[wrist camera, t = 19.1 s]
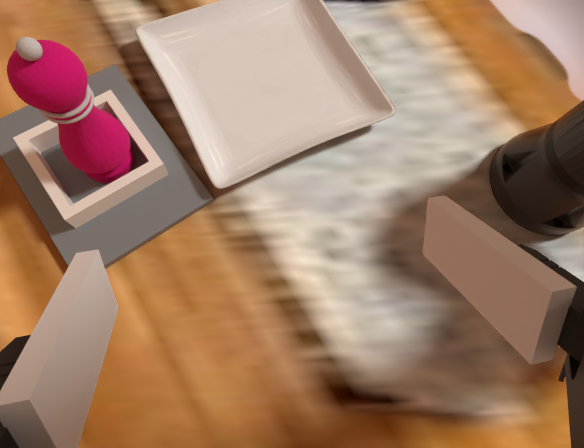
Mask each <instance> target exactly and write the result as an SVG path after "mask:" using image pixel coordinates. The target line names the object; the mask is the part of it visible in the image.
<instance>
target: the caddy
mask: <svg viewBox="0 0 584 448" xmlns="http://www.w3.org/2000/svg"><path fill="white" fill-rule="evenodd" d="M87 78H88V85H89V87H90V89H91V90H92V92H93V94H94V105H95V107H96V108H98V109H100V110H103V111H105V112H107V113H109V114H111V115H112V116H113V117H115V118H116V119H118V120H119V121H120V122H121V124H122V125H123V126H124V127H125V129H126V130H127V132H128V134H129V137H130V146H131V148H132V150H133V152H134V155H135V162H134V166H133V168H132V170H131V171H130V172H129V173H128V174H126V175H124V176H122V177H120V178H119V179H117V180H115V181H113V182H112V183H100V182H97V181H94V180H92V179H91V178H90V177H88V176H87V174H86V173H85V172H83V171H81V170H79V169H77V168H76V167H74V166H73V165H72V164H71V163H70V162H69V161H68V160H67V158H66V157H65V155H64V153H63V151H62V149H61V146H60V142H59V128H58V124H57V123H54V122H52V121H50V120H48V119H46V118H45V117H44V116H43V115H42V114H41V112H40V111H39V110H38V109H37V108H34V107H32V106H31V105H28V106H26V107H24V108H22V109H20V110H18V111H15V112H13V113H11V114H9V115H7V116H5V117H3V118H1V119H0V155H1V157H2V159H3V160H4V162H5V164H6V165H7V167H8V169H9V170H10V172H11V173H12V175H13V177H14V178H15V180H16V182H17V183H18V185H19V186H20V188H21V190H22V191H23V193H24V195H25V196H26V198H27V200H28V201H29V203H30V204H31V206H32V208H33V209H34V211H35V213H36V214H37V216H38V218H39V219H40V221H41V222H42V224H43V226H44V227H45V229H46V231H47V232H48V234H49V235H50V237H51V239H52V240H53V242H54V244H55V245H56V247H57V249H58V250H59V252H60V253H61V255H62V257H63V258H64V260H65V262H66V263H67V265H68V266H69V265H70V263H71V262H72V260H73V258H74V256H75V254H76V253H79V252H85V251H92V250H99V253H100V256H101V259H102V262H103V264H104V267H105V269H106V268H107V267H109V266H110V265H112V264H114V263H115V262H117V261H118V260H120V259H122V258H123V257H125V256H126V255H128V254H130V253H131V252H133V251H135V250H136V249H138V248H139V247H141V246H143V245H144V244H146V243H147V242H149V241H151V240H152V239H154V238H155V237H157V236H159V235H160V234H162V233H163V232H165V231H167V230H168V229H170V228H171V227H173V226H175V225H176V224H178V223H179V222H181V221H183V220H184V219H186V218H187V217H189V216H191V215H192V214H194V213H195V212H197V211H199V210H200V209H202V208H203V207H205V206H207V205H208V204H210V203H211V202H213V201H214V200H213V197H212V196H211V194H210V193H209V192H208V190H207V189H206V188H205V186H204V185H203V183H202V182H201V181H200V179H199V178H198V177H197V175H196V174H195V173H194V171H193V170H192V168H191V167H190V166H189V164H188V163H187V162H186V160H185V159H184V158H183V156H182V155H181V153H180V152H179V151H178V149H177V148H176V147H175V145H174V144H173V142H172V141H171V140H170V138H169V137H168V136H167V134H166V133H165V132H164V130H163V129H162V127H161V126H160V125H159V123H158V122H157V121H156V119H155V118H154V117H153V115H152V114H151V112H150V111H149V110H148V108H147V107H146V106H145V104H144V103H143V101H142V100H141V99H140V97H139V96H138V95H137V93H136V92H135V91H134V89H133V88H132V86H131V85H130V84H129V82H128V81H127V80H126V78H125V77H124V76H123V74H122V73H121V71H120V70H119V69H118V67H117V66H116V65H115V64H114V65H112V66H110V67H108V68H106V69H104V70H102V71H99V72H97V73H95V74H93V75H91V76H89V77H87Z"/></svg>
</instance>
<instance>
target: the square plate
mask: <svg viewBox="0 0 584 448" xmlns="http://www.w3.org/2000/svg"><path fill="white" fill-rule="evenodd" d="M135 32H136V36H137V38H138V40H139V42H140V44H141V46H142V48H143V49H144V51H145V53H146V55H147V56H148V58H149V60H150V62H151V63H152V65H153V67H154V69H155V70H156V72H157V74H158V76H159V78H160V79H161V81H162V83H163V84H164V86H165V88H166V90H167V92H168V94H169V96H170V98H171V100H172V102H173V104H174V106H175V108H176V110H177V112H178V114H179V116H180V118H181V120H182V122H183V124H184V126H185V129H186V131H187V133H188V135H189V137H190V139H191V141H192V144H193V146H194V148H195V150H196V152H197V154H198V156H199V159H200V161H201V163H202V165H203V167H204V170H205V172H206V173H207V175H208V177H209V179H210V181H211V183H212V184H213V185H214V187H215V188H217V189H223V188H226V187H229V186H231V185H234V184H236V183H238V182H240V181H243V180H245V179H247V178H249V177H251V176H253V175H255V174H257V173H259V172H261V171H263V170H265V169H267V168H269V167H271V166H273V165H275V164H277V163H279V162H281V161H283V160H285V159H287V158H290V157H292V156H294V155H296V154H298V153H300V152H303V151H305V150H307V149H309V148H311V147H314V146H316V145H318V144H321V143H323V142H326V141H328V140H331V139H333V138H336V137H339V136H341V135H344V134H347V133H349V132H352V131H355V130H358V129H361V128H363V127H366V126H369V125H372V124H375V123H377V122H380V121H382V120H385V119H387V118H389V117H391V116H393V115H394V114H395V113H396V109H395V107H394V105H393V103H392V102H391V100H390V99H389V97H388V96H387V94H386V93H385V91H384V90H383V88H382V87H381V85H380V84H379V82H378V81H377V80H376V78H375V77H374V75H373V74H372V72H371V71H370V69H369V68H368V66H367V65H366V63H365V62H364V61H363V59H362V58H361V56H360V55H359V53H358V52H357V50H356V49H355V48H354V46H353V45H352V43H351V42H350V40H349V39H348V37H347V36H346V34H345V33H344V31H343V30H342V28H341V27H340V25H339V24H338V22H337V21H336V19H335V18H334V17H333V15H332V14H331V12H330V10H329V9H328V7H327V6H326V4H325V3H324V2H323V0H221V1H217V2H214V3H211V4H207V5H204V6H201V7H197V8H194V9H191V10H188V11H184V12H181V13H178V14H175V15H172V16H168V17H165V18H162V19H159V20H156V21H153V22H150V23H147V24H144V25H141V26H139V27H137V28H136V31H135Z"/></svg>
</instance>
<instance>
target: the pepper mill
mask: <svg viewBox="0 0 584 448" xmlns="http://www.w3.org/2000/svg"><path fill="white" fill-rule="evenodd" d="M7 74H8V78H9V82H10V84H11V86H12V88H13V90H14V91H15V92H16V94H17V95H18V96H19V97H20V98H21V99H22V100H23V101H24V102H26V103H27V104H29V105H31V106H32V107H34V108H37V109H38V110H39V111H40V112H41V114H42V115H43V116H44V117H45V118H46V119H48V120H50V121H52V122H54V123H57V124H58V128H59V142H60V146H61V149H62V151H63V153H64V155H65V157H66V158H67V160H68V161H69V162H70V163H71V164H72V165H73V166H74V167H76V168H77V169H79V170H81V171H83V172H85V173H86V174H87V176H88V177H90V178H91V179H92V180H94V181H97V182H100V183H112V182H113V181H115V180H117V179H119V178H120V177H122V176H124V175H126V174H128V173H129V172H130V171H131V170H132V168H133V166H134V162H135V155H134V152H133V150H132V148H131V146H130V137H129V134H128V132H127V130H126V129H125V127H124V126H123V125H122V124H121V122H120V121H119V120H118V119H116V118H115V117H113V116H112V115H111V114H109V113H107V112H105V111H103V110H100V109H98V108H96V107H95V105H94V94H93V92H92V90H91V89H90V87H89V85H88V78H87V73H86V70H85V67H84V65H83V63H82V62H81V61H80V59H79V58H78V57H77V56H76V55H75V54H74V53H73V52H72V51H71V50H70V49H68V48H67V47H65V46H63V45H61V44H59V43H57V42H53V41H49V40H35V39H33V38H31V37H22V38H20V39H19V40H18V41H17V43H16V50H15V51H14V52H13V54H12V55H11V57H10V58H9V61H8V65H7Z"/></svg>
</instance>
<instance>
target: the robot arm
mask: <svg viewBox="0 0 584 448" xmlns="http://www.w3.org/2000/svg"><path fill="white" fill-rule="evenodd" d="M490 181H491V186H492V189H493V192H494V195H495V197H496V199H497V201H498V203H499V204H500V206H501V207H502V208H503V210H504V211H505V212H506V213H507V214H508V215H509V216H510V217H511V218H512V219H513V220H514V221H515V222H517V223H518V224H520V225H521V226H523V227H525V228H526V229H528V230H531V231H533V232H536V233H539V234H543V235H553V236H555V235H563V234H567V233H570V232H572V231H575V230H578V229H580V228H582V227H584V100H583V101H582V102H581V103H579V104H578V105H577V106H575V107H574V108H573V109H571V110H570V111H569V112H567V113H566V114H565V115H563V116H562V117H561V118H559V119H558V120H557V121H555V122H554V123H551V124H548V125H545V126H542V127H539V128H536V129H533V130H530V131H527V132H524V133H521V134H519V135H517V136H515V137H514V138H512V139H511V140H509V141H508V142H507V143H506V144H505V145H503V146H502V147H501V148H500V149H499V150H498V151H497V153H496V154H495V156H494V158H493V160H492V163H491V168H490ZM422 254H423V255H424V256H425V257H426V258H427V259H428V260H429V261H430V262H431V263H432V264H433V265H434V266H435V267H436V268H437V269H438V270H439V271H440V272H441V273H442V275H443V276H444V277H445V278H446V279H447V280H448V281H449V282H450V283H451V284H452V285H453V286H454V287H455V288H456V289H457V290H458V291H459V292H460V293H461V294H462V295H463V296H464V297H465V298H466V299H467V300H468V301H469V302H470V303H471V304H472V305H473V306H474V307H475V308H476V309H477V311H478V312H479V313H480V314H481V315H482V316H483V317H484V318H485V319H486V320H487V321H488V322H489V323H490V324H491V325H492V326H493V327H494V328H495V329H496V330H497V331H498V332H499V333H500V334H501V335H502V336H503V337H504V338H505V339H506V340H507V341H508V342H509V343H510V344H511V345H512V346H513V348H514V349H515V350H516V351H517V352H518V353H519V354H520V355H521V356H522V357H523V358H524V359H525V360H526V361H527V362H528V363H529V364H530V365H533V364H538V363H542V362H546V361H550V360H553V358H554V355H555V352H556V349H557V346H558V345H559V346H560V347H561V348H563V349H564V350H565V351H566V352H567V353H568V354H567V357H566V360H565V363H564V365H563V368H562V371H561V374H560V377H559V381H561V382H563V380H564V377H566V385H567V398H568V411H569V424H570V436H571V448H584V282H583V281H581V280H580V279H578V278H577V277H575V276H574V275H572V274H571V273H569V272H568V271H566V270H565V269H563V268H562V267H559V265H557V264H556V263H554V262H553V261H549V259H548V258H547V257H545V256H544V255H542V254H541V253H539V252H538V251H536V250H534V249H531V248H529V247H526V246H523V245H521V244H520V245H516V244H514V243H513V242H511V241H510V240H509V239H507V238H506V237H504V236H503V235H501V234H500V233H498V232H497V231H496V230H494V229H493V228H491V227H490V226H488V225H487V224H486V223H484V222H483V221H481V220H480V219H478V218H477V217H475V216H474V215H473V214H471V213H470V212H468V211H467V210H465V209H464V208H462V207H461V206H460V205H458V204H457V203H455V202H454V201H452V200H451V199H449V198H448V197H447V196H445V195H443V196H437V197H430V198H428V202H427V212H426V222H425V232H424V242H423V252H422ZM118 309H119V307H118V305H117V302H116V299H115V296H114V293H113V290H112V287H111V284H110V282H109V279H108V276H107V273H106V270H105V267H104V264H103V262H102V259H101V256H100V253H99V250H92V251H85V252H79V253H76V254H75V256H74V258H73V260H72V262H71V263H70V265H69V267H68V269H67V271H66V272H65V274H64V276H63V278H62V280H61V282H60V283H59V285H58V287H57V289H56V291H55V292H54V294H53V296H52V298H51V300H50V302H49V303H48V305H47V307H46V309H45V311H44V312H43V314H42V316H41V318H40V320H39V322H38V323H37V325H36V327H35V329H34V331H33V332H32V334H31V335H28V336H22V337H17V338H15V339H14V340H13V341H12V342H11V343H9V344H8V345H7V346H6V347H5V348H4V349H3V350H2V351H1V352H0V448H78V446H79V443H80V439H81V436H82V433H83V429H84V426H85V422H86V419H87V415H88V412H89V409H90V405H91V402H92V398H93V395H94V391H95V388H96V385H97V381H98V378H99V374H100V371H101V367H102V364H103V361H104V357H105V354H106V350H107V347H108V343H109V340H110V337H111V333H112V330H113V326H114V323H115V319H116V316H117V313H118Z"/></svg>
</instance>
